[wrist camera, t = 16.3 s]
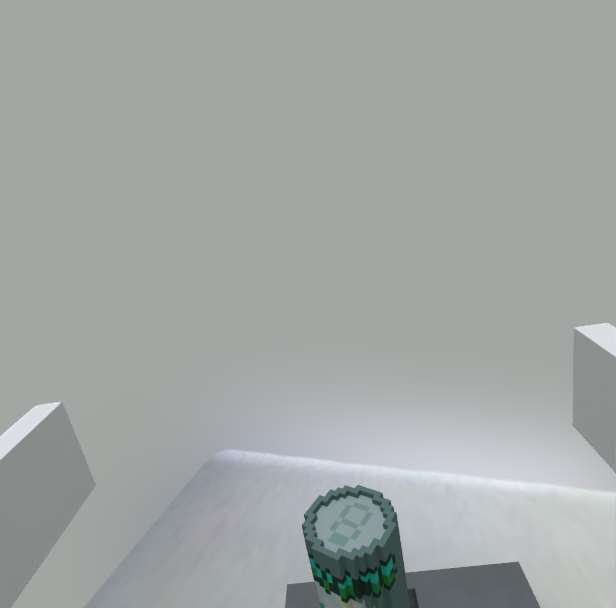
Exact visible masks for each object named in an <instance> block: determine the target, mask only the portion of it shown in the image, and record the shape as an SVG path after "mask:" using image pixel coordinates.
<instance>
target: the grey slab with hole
mask: <svg viewBox="0 0 616 608" xmlns="http://www.w3.org/2000/svg"><path fill="white" fill-rule="evenodd" d="M405 576H406V582H407V589H408V596H409V603H410V608H540V606H539V604H538V602H537V600H536V598H535V596H534V594H533V592H532V589H531V587H530V585H529V583H528V581H527V579H526V577H525V575H524V572H523V570H522V568H521V566H520V564H519V562H511V563H501V564H491V565H480V566H470V567H460V568H450V569H440V570H430V571H419V572H409V573H405ZM285 608H321V607H320V603H319V598H318V594H317V590H316V586H315V582H308V583H297V584H287V593H286V605H285Z"/></svg>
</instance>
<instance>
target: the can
mask: <svg viewBox="0 0 616 608" xmlns="http://www.w3.org/2000/svg"><path fill="white" fill-rule="evenodd" d="M304 517H305V522H304V523H303V524H302V528H303V533H304V538H305V543H306V547H307V551H308V556H309V560H310V564H311V569H312V573H313V577H314V581H315V586H316V590H317V594H318V598H319V603H320V607H321V608H410V603H409V596H408V589H407V582H406V576H405V569H404V562H403V555H402V548H401V541H400V535H399V528H398V521H397V514H396V512H394V508H393V506H391V501H390V500H387V499H384V498H383V494H382V493H381V492H378V491H375V490H372V489H369V488H366V487H363V486H359V485H357V486H356V488H352V487H349V486H346V485H345V486H344V488H343V489H341V488H337V489H336V490H335V491H334V490H331V489H330V491H329V492H328V493H327V494H326V496H325V497H324V496H321V495H320V496H319V497H318V498H317V499H316V501H315V502H314V503H313V504H312V505H311V507H310V508H309V509H308V510H307V512H306V513H305V514H304Z"/></svg>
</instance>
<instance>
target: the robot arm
mask: <svg viewBox="0 0 616 608" xmlns="http://www.w3.org/2000/svg"><path fill="white" fill-rule="evenodd" d="M573 370H574V371H573V426H574V427H575V428H576V430H578V432H579V433H580V434H581V435H582V436H583V437H584V438H585V439H586V440H587V441H588V443H589V444H590V445H591V446H592V447H593V448H594V449H595V450H596V451H597V453H599V455H600V456H601V457H602V458H603V459H604V460H605V461H606V463H607V464H608V465H609V466H610V467H611V468H612V469H613V470H614V471H615V473H616V328H615V327H614V326H612V325H610V324H609V323H602V324H595V325H588V326H582V327H575V328H574V365H573ZM95 486H96V484H95V482H94V479H93V476H92V474H91V472H90V469H89V467H88V464H87V462H86V459H85V457H84V454H83V452H82V449H81V447H80V444H79V442H78V439H77V437H76V434H75V432H74V429H73V427H72V425H71V422H70V420H69V417H68V415H67V412H66V410H65V407H64V405H63V403H62V402H57V403H50V404H43V405H36V406H35V407H33V408H32V409H31V410H30V411H29V412H28V413H27V414H25V415H24V416H23V417H22V418H21V419H20V420H18V421H17V422H16V423H15V424H14V425H13V426H11V427H10V428H9V429H8V430H7V431H6V432H5V433H4V434H2V435H1V436H0V608H11V607H12V605H13V604H14V602H15V601H16V599H17V598H18V597H19V595H20V594H21V592H22V591H23V589H24V588H25V587H26V585H27V584H28V582H29V581H30V579H31V578H32V576H33V575H34V574H35V572H36V571H37V569H38V568H39V566H40V565H41V563H42V562H43V560H44V559H45V557H46V556H47V555H48V553H49V552H50V551H51V549H52V548H53V546H54V545H55V543H56V542H57V540H58V539H59V537H60V536H61V535H62V533H63V532H64V530H65V529H66V527H67V526H68V525H69V523H70V522H71V520H72V519H73V517H74V516H75V515H76V513H77V511H78V510H79V509H80V507H81V506H82V504H83V503H84V501H85V500H86V499H87V497H88V496H89V494H90V493H91V491H92V490H93V489H94V487H95Z"/></svg>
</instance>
